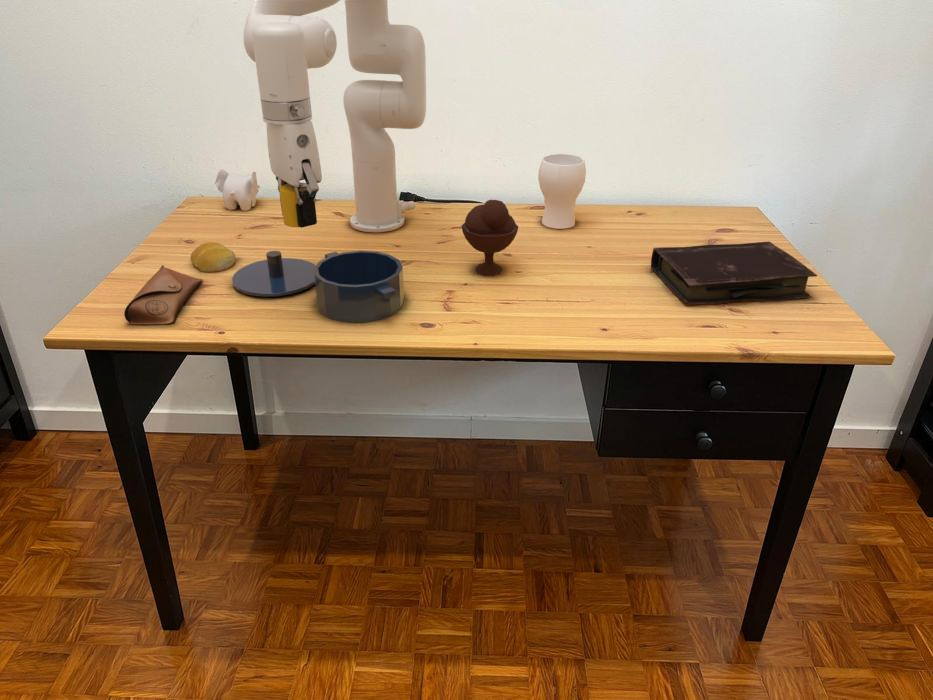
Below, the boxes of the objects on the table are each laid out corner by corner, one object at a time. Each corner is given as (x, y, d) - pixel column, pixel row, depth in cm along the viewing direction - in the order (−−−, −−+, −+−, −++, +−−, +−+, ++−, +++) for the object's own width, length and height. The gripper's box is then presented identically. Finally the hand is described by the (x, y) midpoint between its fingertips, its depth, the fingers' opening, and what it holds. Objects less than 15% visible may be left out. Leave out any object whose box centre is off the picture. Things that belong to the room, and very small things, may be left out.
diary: (649, 267, 148) (652, 244, 146) (762, 260, 152) (768, 238, 149) (686, 309, 132) (691, 284, 130) (812, 300, 136) (819, 276, 133)
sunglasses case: (175, 322, 125) (148, 292, 122) (144, 340, 127) (116, 311, 124) (205, 278, 141) (181, 251, 138) (177, 295, 142) (153, 268, 139)
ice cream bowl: (521, 263, 149) (525, 193, 142) (506, 285, 140) (509, 211, 133) (472, 256, 152) (473, 186, 145) (454, 277, 143) (454, 204, 136)
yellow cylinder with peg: (306, 214, 126) (302, 173, 122) (320, 223, 122) (316, 181, 118) (278, 220, 123) (273, 179, 119) (292, 229, 119) (286, 187, 116)
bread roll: (205, 276, 143) (201, 257, 141) (186, 262, 148) (183, 244, 146) (244, 265, 147) (241, 247, 145) (225, 252, 153) (221, 234, 151)
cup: (588, 221, 171) (594, 157, 164) (568, 234, 163) (574, 169, 156) (548, 212, 176) (552, 150, 168) (527, 225, 168) (531, 161, 161)
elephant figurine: (271, 198, 183) (267, 164, 178) (251, 215, 173) (245, 178, 168) (236, 196, 184) (230, 161, 180) (213, 212, 174) (207, 176, 169)
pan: (367, 273, 145) (365, 240, 141) (428, 312, 130) (427, 276, 127) (296, 293, 136) (291, 259, 133) (352, 337, 122) (349, 300, 119)
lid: (296, 256, 151) (293, 231, 148) (335, 284, 140) (333, 256, 137) (219, 276, 143) (214, 249, 140) (254, 307, 131) (250, 279, 128)
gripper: (334, 117, 109) (344, 230, 118) (285, 97, 121) (297, 202, 130) (288, 124, 105) (301, 241, 114) (242, 102, 117) (258, 210, 126)
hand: (299, 219), depth 122 cm, fingers closed on yellow cylinder with peg, 5 cm apart
